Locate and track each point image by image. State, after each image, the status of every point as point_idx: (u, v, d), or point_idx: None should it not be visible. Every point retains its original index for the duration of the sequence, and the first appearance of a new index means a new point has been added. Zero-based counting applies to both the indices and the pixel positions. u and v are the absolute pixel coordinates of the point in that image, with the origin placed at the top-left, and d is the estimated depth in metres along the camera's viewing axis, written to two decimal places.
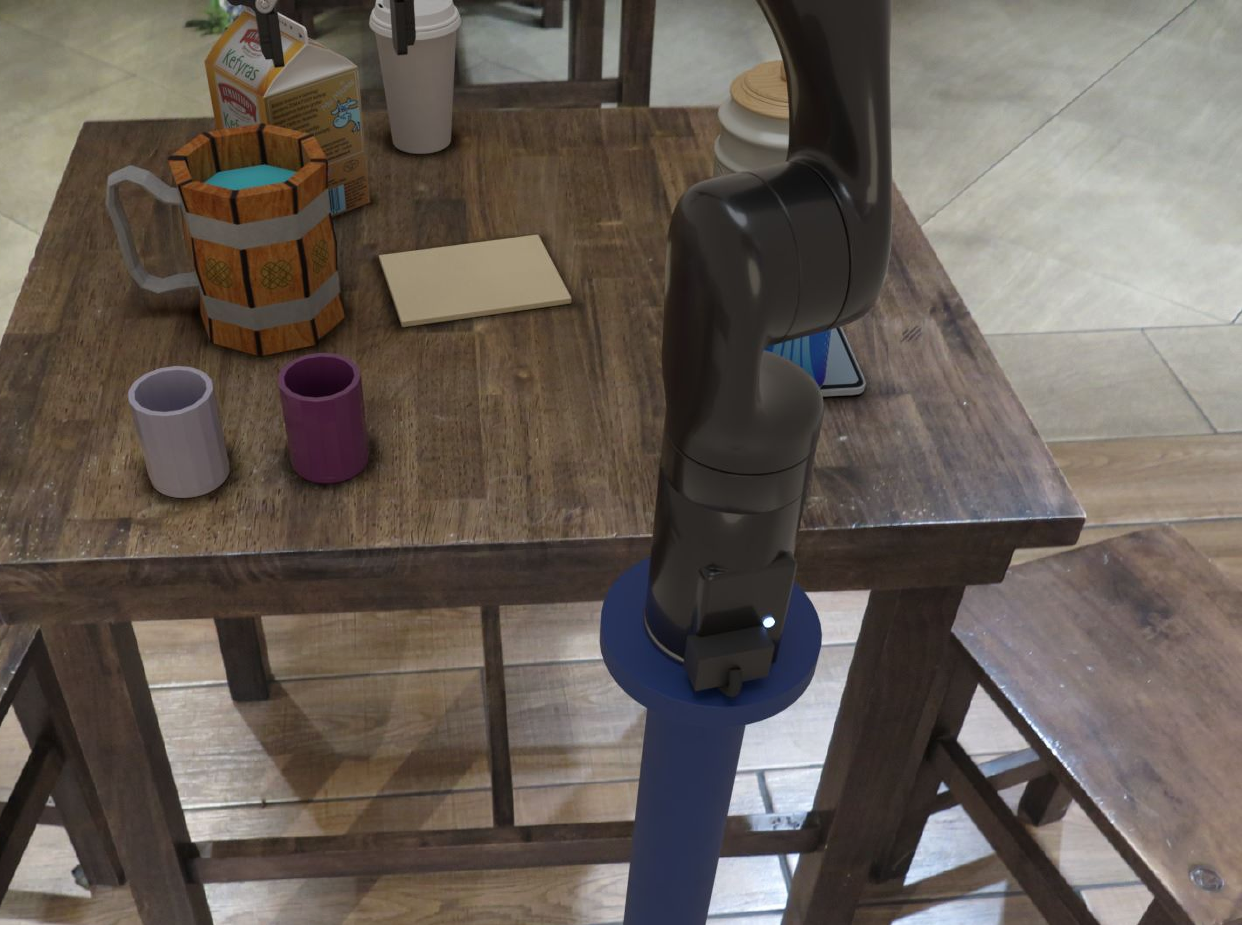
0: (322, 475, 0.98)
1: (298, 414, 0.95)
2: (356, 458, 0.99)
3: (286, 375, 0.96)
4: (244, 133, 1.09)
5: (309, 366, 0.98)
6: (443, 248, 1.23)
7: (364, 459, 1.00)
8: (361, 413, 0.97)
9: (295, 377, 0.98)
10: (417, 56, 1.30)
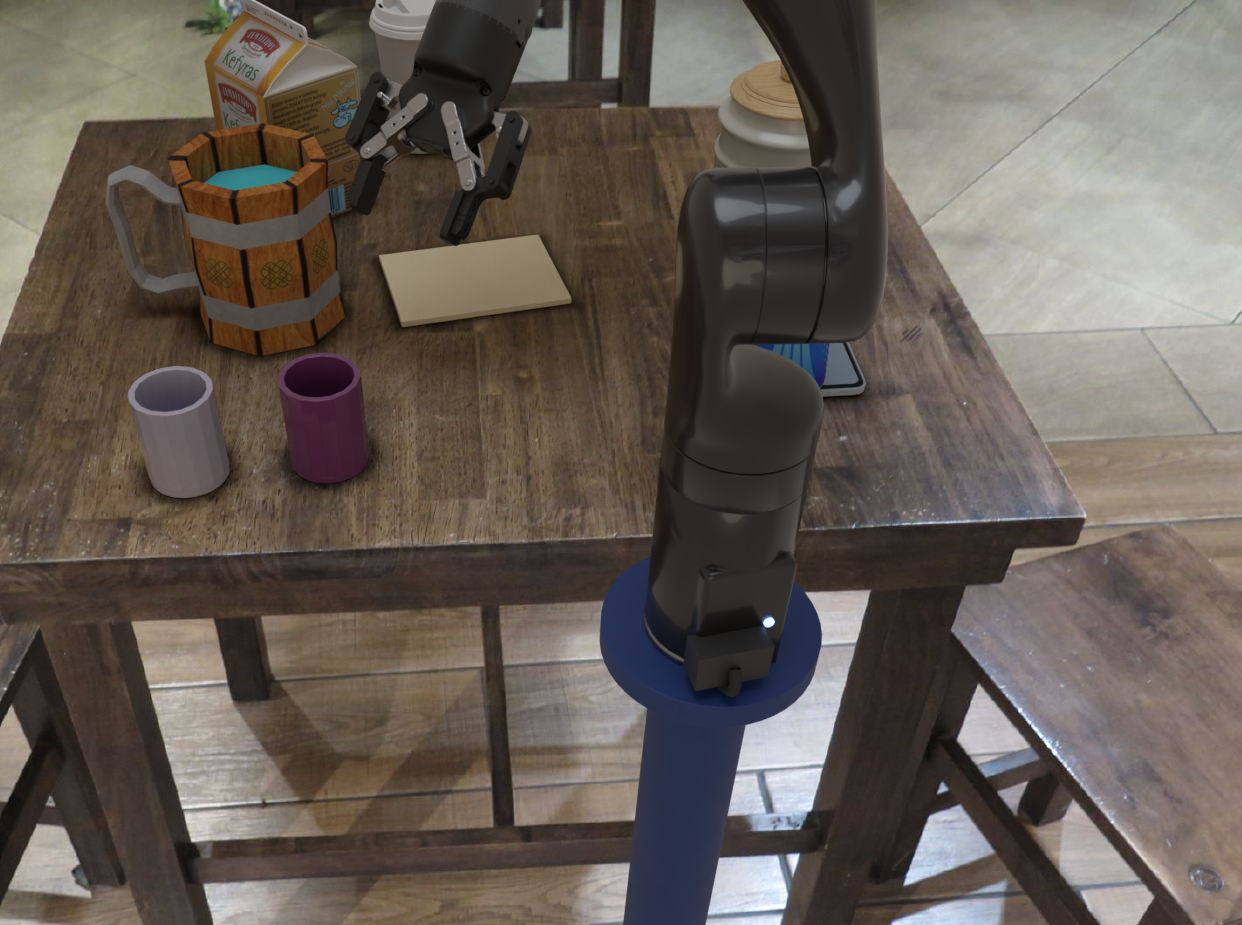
0: (322, 475, 0.98)
1: (298, 414, 0.95)
2: (356, 458, 0.99)
3: (286, 375, 0.96)
4: (244, 133, 1.09)
5: (309, 366, 0.98)
6: (443, 248, 1.23)
7: (364, 459, 1.00)
8: (361, 413, 0.97)
9: (295, 377, 0.98)
10: None
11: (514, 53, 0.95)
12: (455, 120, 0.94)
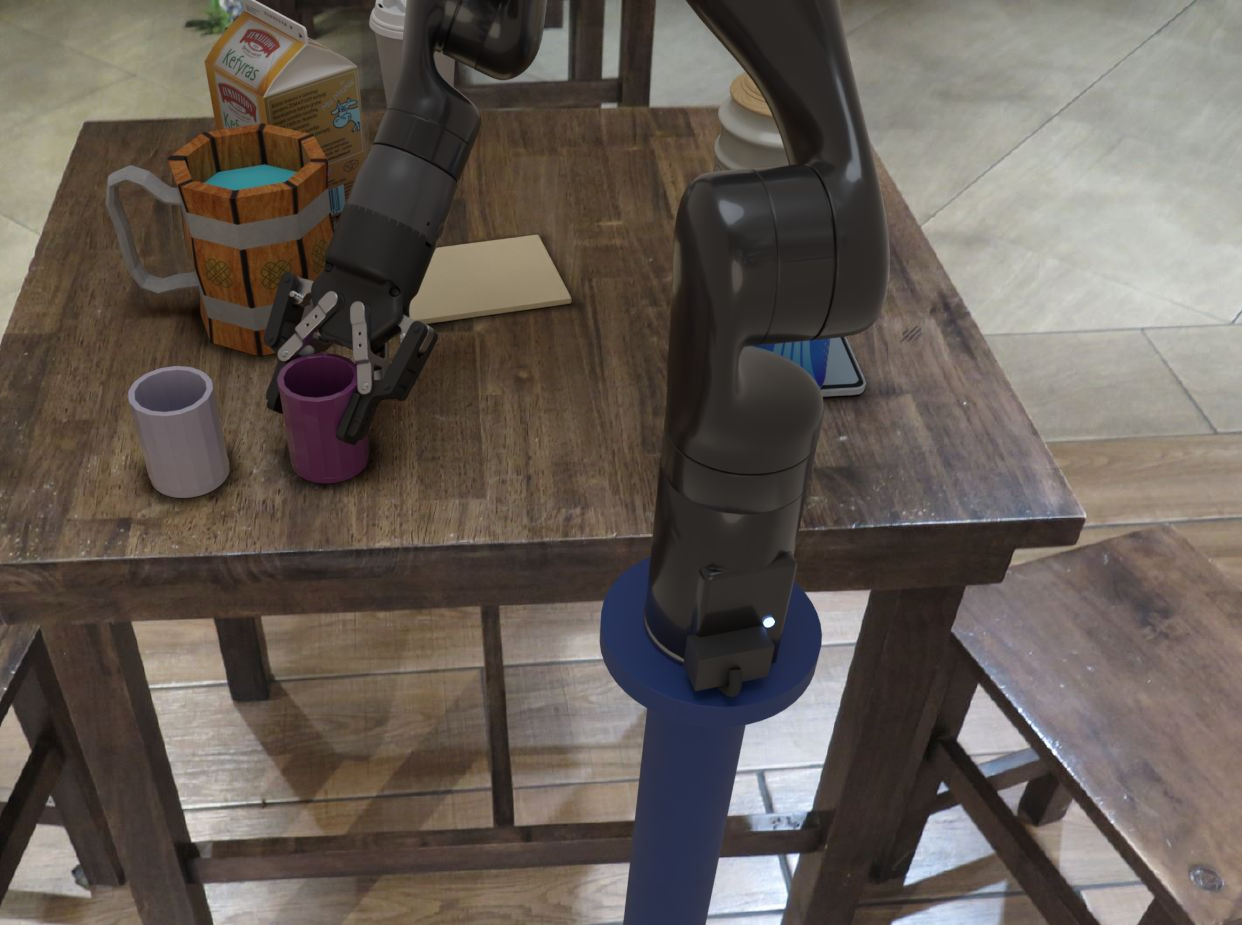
0: (322, 475, 0.98)
1: (298, 414, 0.95)
2: (356, 458, 0.99)
3: (286, 375, 0.96)
4: (244, 133, 1.09)
5: (309, 366, 0.98)
6: (443, 248, 1.23)
7: (364, 459, 1.00)
8: None
9: (295, 377, 0.98)
10: None
11: (424, 253, 0.94)
12: (362, 322, 0.94)
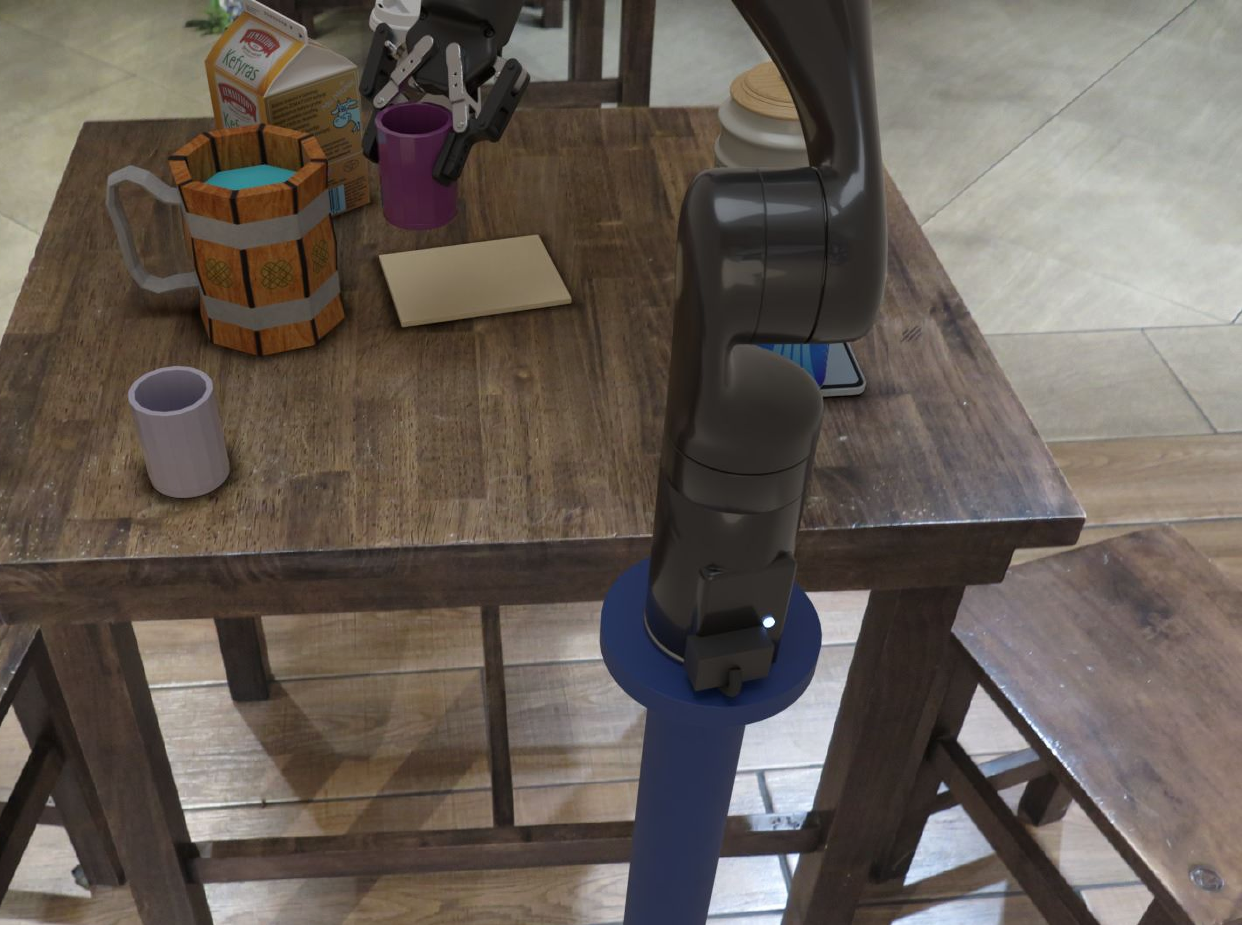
0: (415, 221, 1.02)
1: (396, 153, 0.98)
2: (448, 205, 1.02)
3: (382, 119, 1.00)
4: (244, 133, 1.09)
5: (403, 115, 1.02)
6: (443, 248, 1.23)
7: (454, 209, 1.04)
8: None
9: (390, 125, 1.01)
10: None
11: None
12: (458, 62, 0.98)
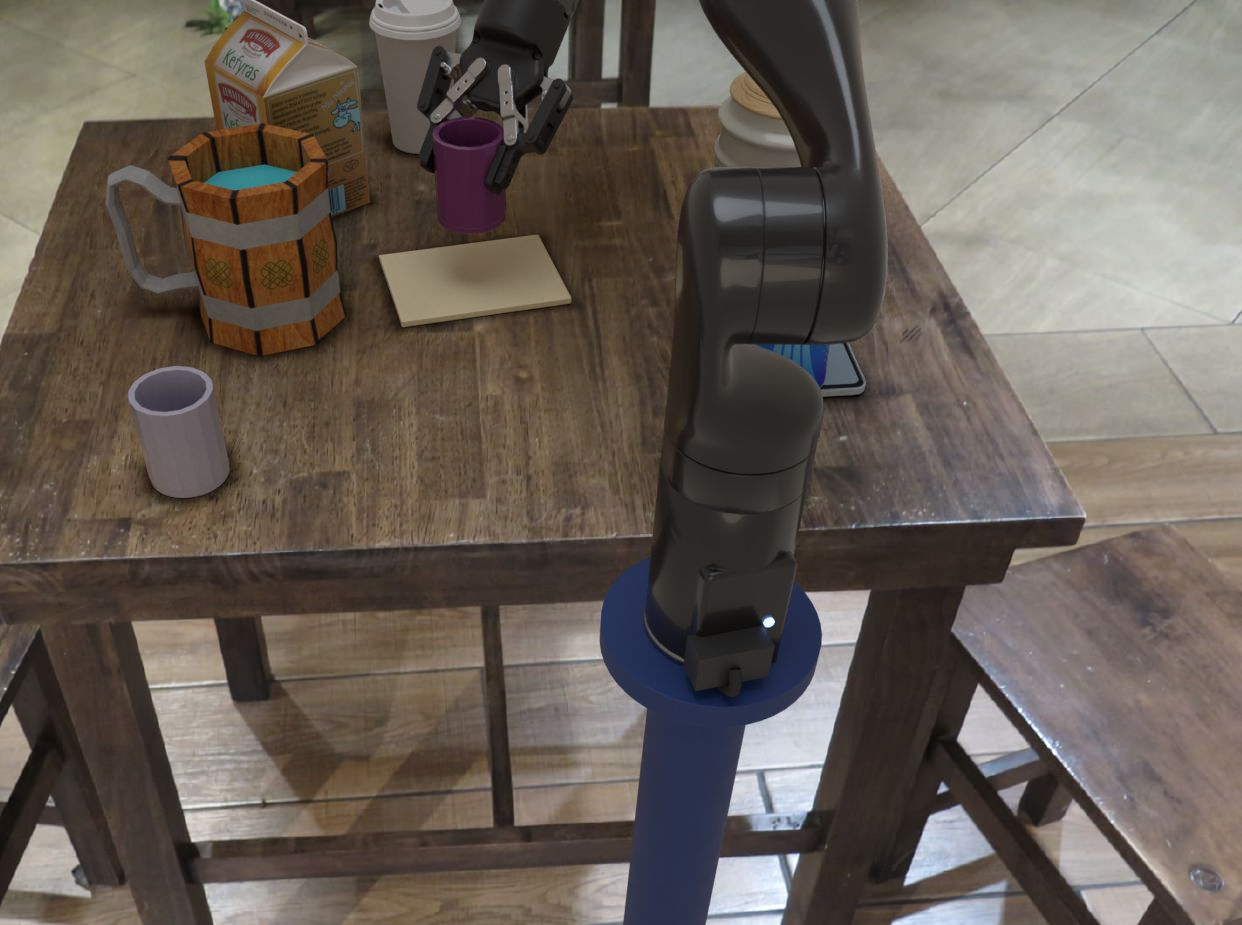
0: (468, 225, 1.13)
1: (452, 164, 1.09)
2: (497, 211, 1.13)
3: (439, 133, 1.10)
4: (244, 133, 1.09)
5: (457, 129, 1.12)
6: (443, 248, 1.23)
7: (503, 214, 1.14)
8: None
9: (446, 138, 1.12)
10: (417, 56, 1.30)
11: (562, 23, 1.08)
12: (508, 82, 1.08)
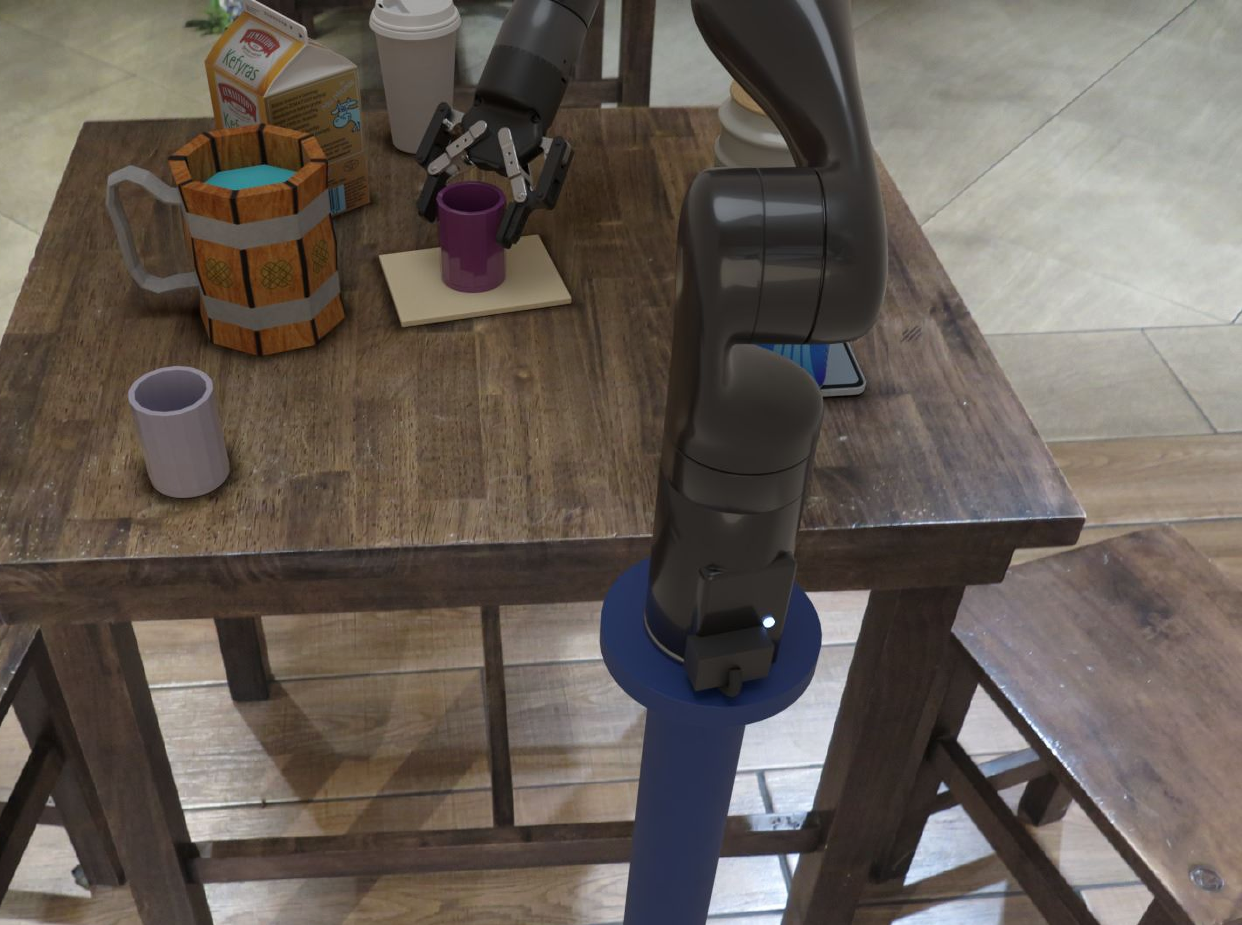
0: (470, 285, 1.17)
1: (455, 228, 1.13)
2: (498, 271, 1.17)
3: (443, 197, 1.14)
4: (244, 133, 1.09)
5: (460, 192, 1.16)
6: None
7: (503, 274, 1.18)
8: None
9: (448, 201, 1.16)
10: (417, 56, 1.30)
11: (560, 88, 1.12)
12: (510, 143, 1.12)
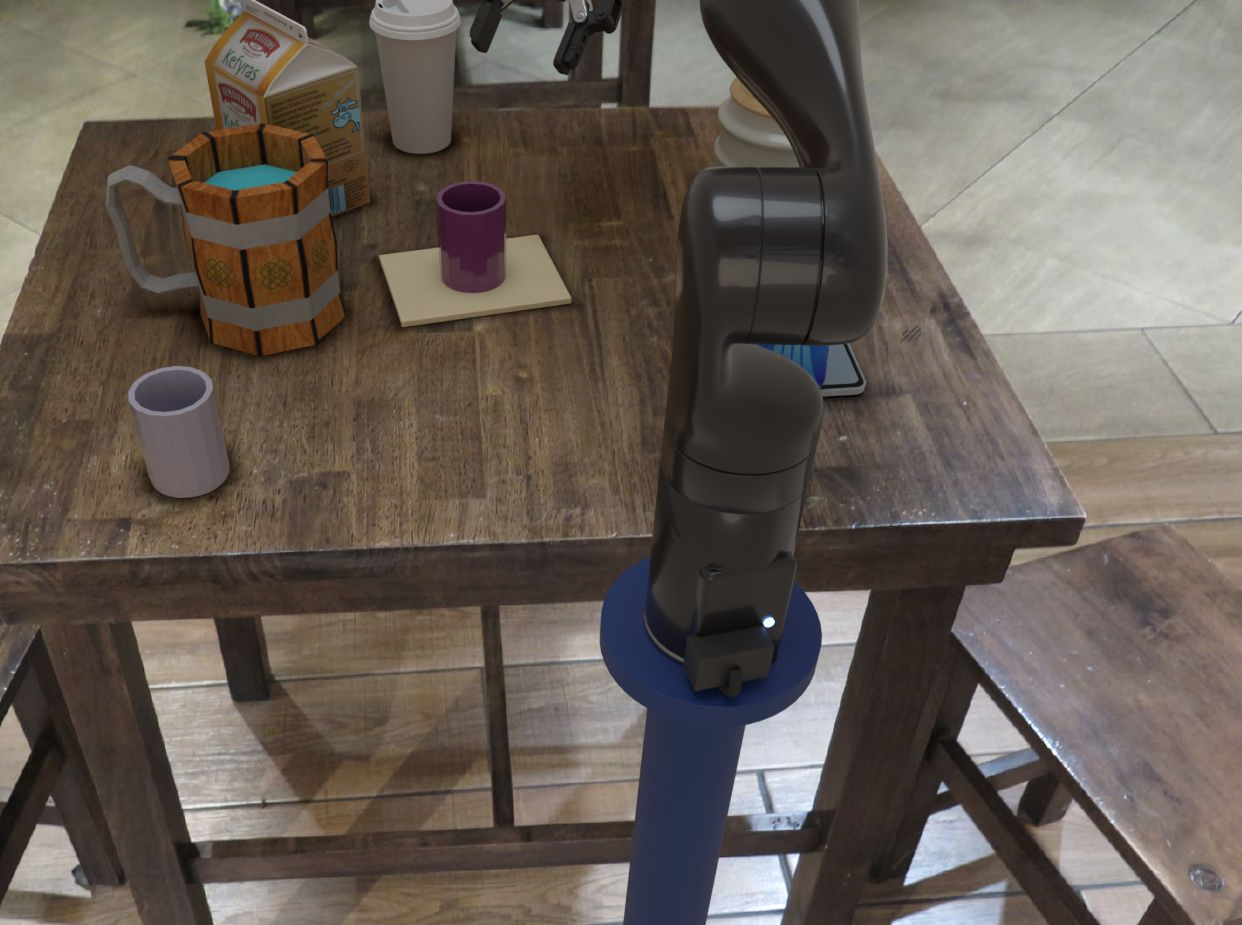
0: (470, 285, 1.17)
1: (455, 228, 1.13)
2: (498, 271, 1.17)
3: (443, 197, 1.14)
4: (244, 133, 1.09)
5: (460, 192, 1.16)
6: None
7: (503, 274, 1.18)
8: (504, 231, 1.15)
9: (448, 201, 1.16)
10: (417, 56, 1.30)
11: None
12: None
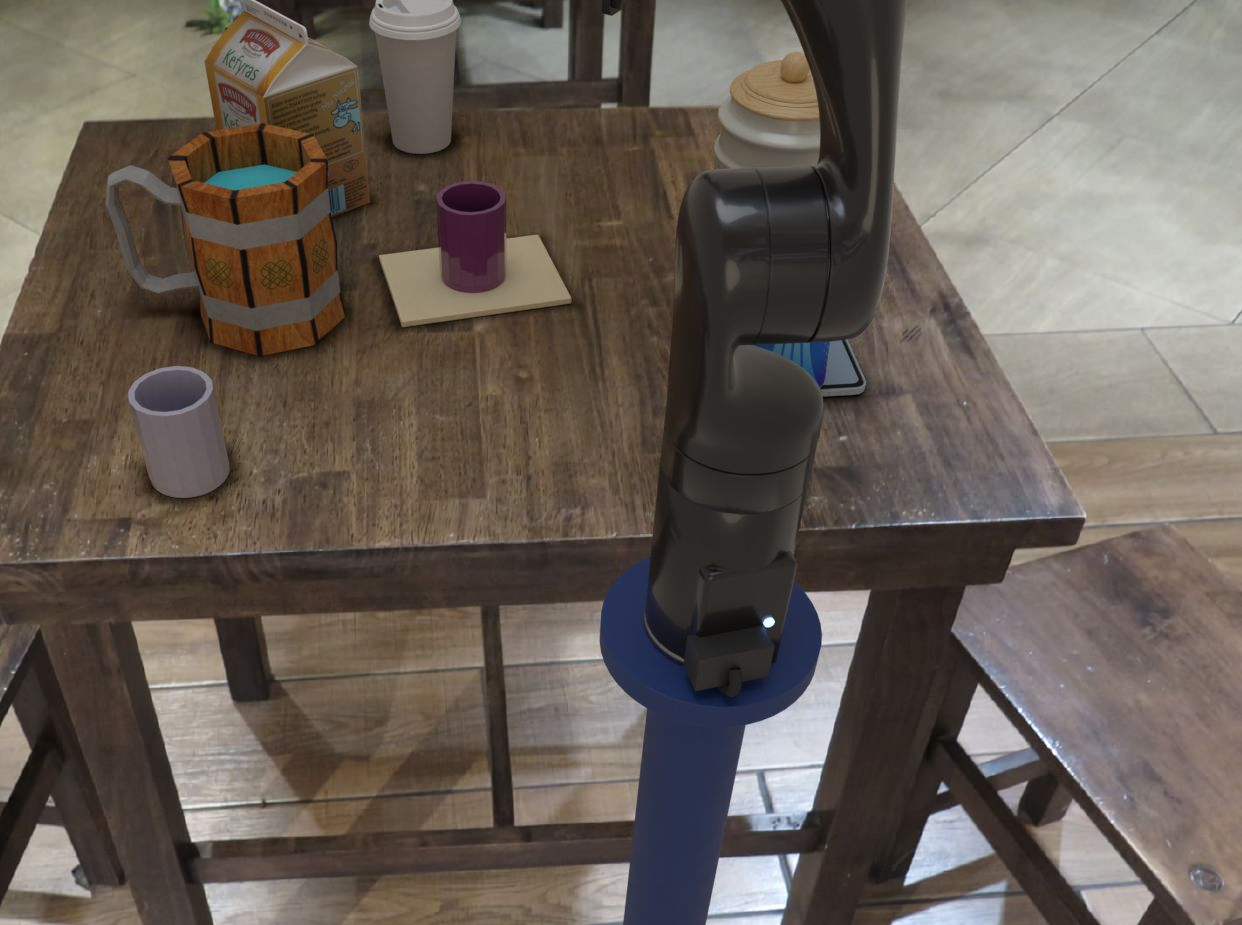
0: (470, 285, 1.17)
1: (455, 228, 1.13)
2: (498, 271, 1.17)
3: (443, 197, 1.14)
4: (244, 133, 1.09)
5: (460, 192, 1.16)
6: None
7: (503, 274, 1.18)
8: (504, 231, 1.15)
9: (448, 201, 1.16)
10: (417, 56, 1.30)
11: None
12: None
